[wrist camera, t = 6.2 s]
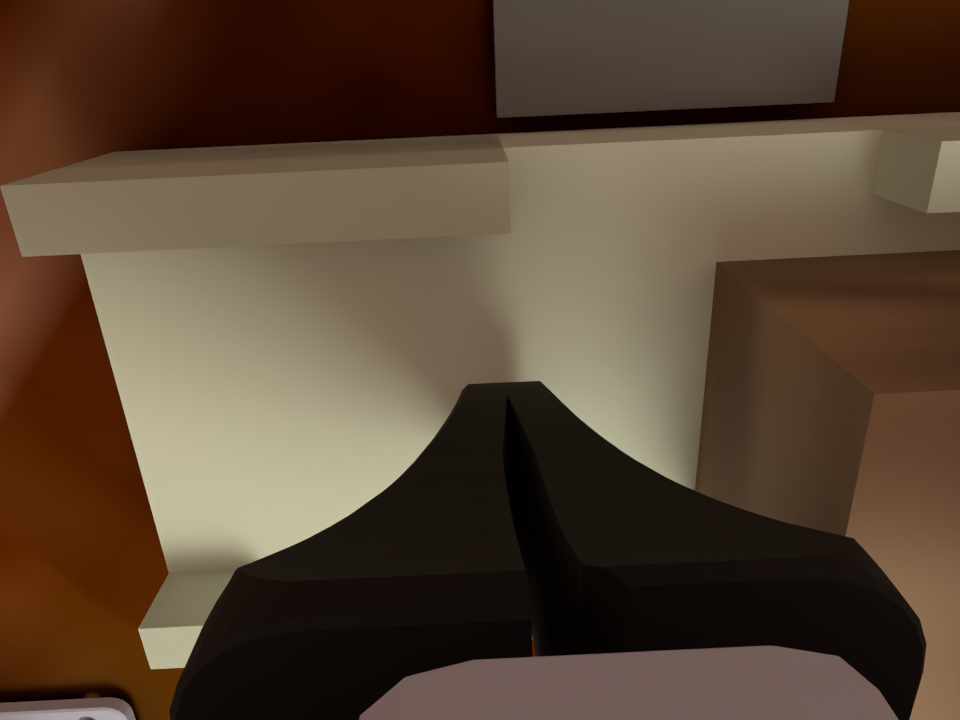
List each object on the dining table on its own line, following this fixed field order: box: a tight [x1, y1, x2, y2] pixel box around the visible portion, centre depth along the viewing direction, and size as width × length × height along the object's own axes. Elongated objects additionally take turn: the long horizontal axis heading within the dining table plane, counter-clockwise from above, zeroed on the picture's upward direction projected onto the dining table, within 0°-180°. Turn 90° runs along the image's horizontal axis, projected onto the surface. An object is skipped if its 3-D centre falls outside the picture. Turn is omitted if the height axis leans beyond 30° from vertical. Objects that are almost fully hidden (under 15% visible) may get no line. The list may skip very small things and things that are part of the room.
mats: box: [493, 0, 849, 639], centre depth 15 cm, size 11×15×1 cm
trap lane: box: [0, 112, 960, 669], centre depth 12 cm, size 17×9×5 cm, turn 92°
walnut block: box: [695, 250, 960, 720], centre depth 11 cm, size 5×5×5 cm
